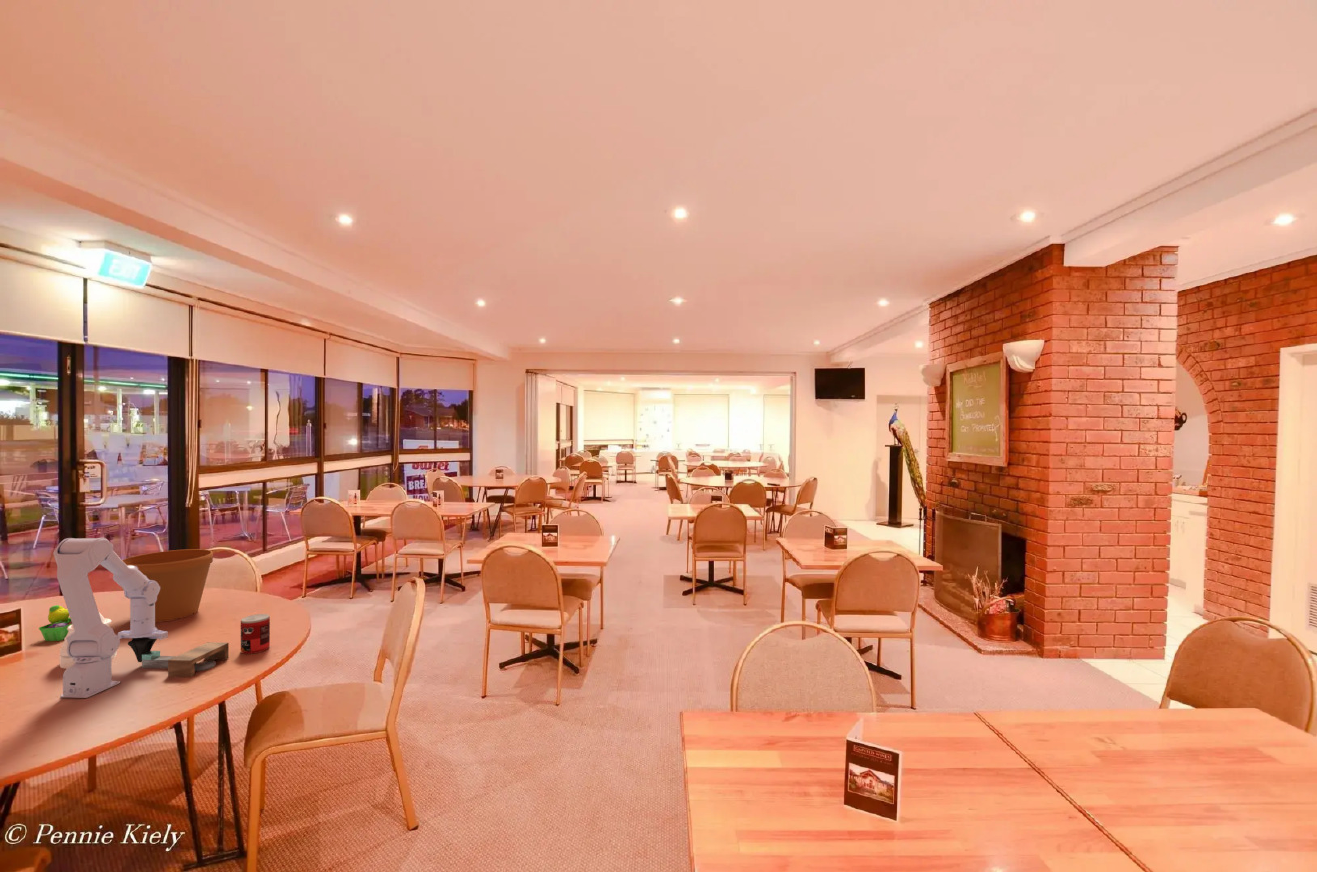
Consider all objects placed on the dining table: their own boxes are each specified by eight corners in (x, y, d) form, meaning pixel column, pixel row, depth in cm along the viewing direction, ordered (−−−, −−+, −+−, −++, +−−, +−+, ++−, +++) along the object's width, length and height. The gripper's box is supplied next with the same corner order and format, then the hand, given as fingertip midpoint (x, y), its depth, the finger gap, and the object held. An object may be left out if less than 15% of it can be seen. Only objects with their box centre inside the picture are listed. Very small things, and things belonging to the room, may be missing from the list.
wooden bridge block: (190, 676, 167) (190, 660, 167) (168, 676, 167) (168, 659, 167) (228, 657, 181) (228, 642, 181) (207, 657, 181) (207, 642, 181)
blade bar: (188, 668, 172) (188, 655, 172) (142, 667, 173) (141, 654, 173) (196, 664, 175) (196, 651, 175) (151, 663, 176) (151, 650, 176)
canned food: (238, 649, 188) (238, 617, 187) (267, 643, 193) (267, 612, 193) (242, 656, 182) (242, 623, 182) (271, 649, 188) (271, 617, 188)
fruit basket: (59, 642, 194) (58, 610, 193) (33, 642, 193) (33, 610, 193) (92, 630, 205) (92, 600, 205) (68, 630, 205) (68, 600, 205)
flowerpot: (115, 632, 203) (114, 568, 203) (124, 613, 224) (124, 555, 224) (213, 616, 220) (212, 557, 220) (212, 599, 242) (212, 546, 242)
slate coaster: (204, 672, 171) (204, 668, 171) (187, 671, 171) (187, 667, 171) (220, 664, 177) (220, 660, 177) (203, 664, 177) (203, 660, 177)
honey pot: (122, 657, 181) (122, 602, 181) (66, 672, 170) (66, 613, 170) (109, 649, 188) (108, 596, 187) (54, 662, 177) (53, 606, 176)
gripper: (176, 614, 178) (176, 656, 179) (133, 613, 179) (133, 655, 179) (155, 621, 171) (155, 665, 171) (110, 621, 172) (111, 664, 172)
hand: (142, 660), depth 175 cm, fingers closed
